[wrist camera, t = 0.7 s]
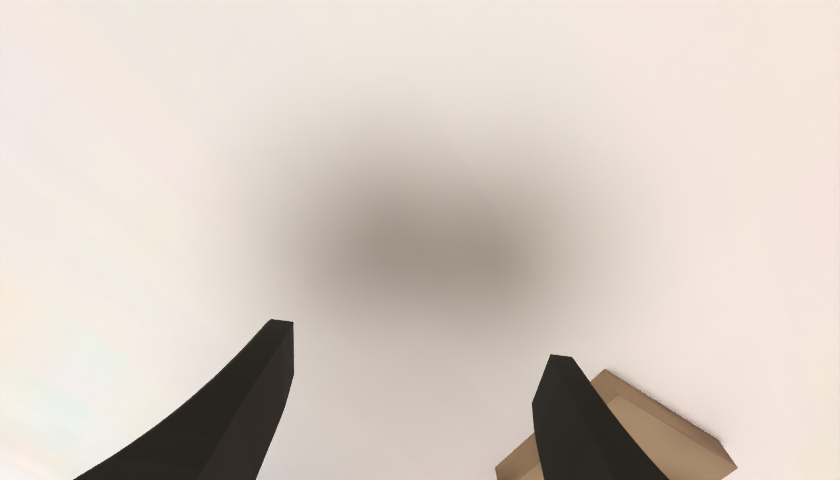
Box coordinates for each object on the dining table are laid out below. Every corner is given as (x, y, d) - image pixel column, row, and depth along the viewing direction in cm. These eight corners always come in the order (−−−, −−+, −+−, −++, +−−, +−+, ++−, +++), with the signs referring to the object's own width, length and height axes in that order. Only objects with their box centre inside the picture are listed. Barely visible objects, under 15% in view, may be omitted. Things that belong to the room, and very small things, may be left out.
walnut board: (602, 517, 34) (616, 553, 32) (494, 461, 31) (500, 496, 29) (714, 434, 30) (737, 468, 28) (601, 363, 28) (618, 395, 26)
